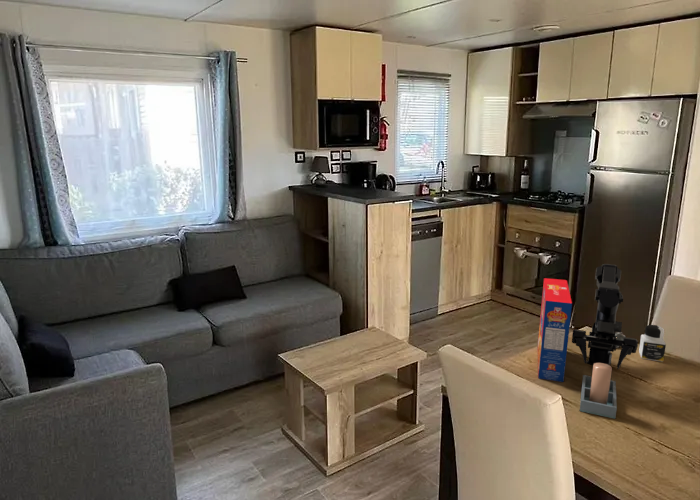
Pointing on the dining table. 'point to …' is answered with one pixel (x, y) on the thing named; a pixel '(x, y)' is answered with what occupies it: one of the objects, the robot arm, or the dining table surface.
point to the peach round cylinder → (600, 383)
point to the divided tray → (595, 407)
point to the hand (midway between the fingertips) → (601, 365)
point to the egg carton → (619, 337)
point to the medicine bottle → (652, 343)
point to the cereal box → (554, 329)
